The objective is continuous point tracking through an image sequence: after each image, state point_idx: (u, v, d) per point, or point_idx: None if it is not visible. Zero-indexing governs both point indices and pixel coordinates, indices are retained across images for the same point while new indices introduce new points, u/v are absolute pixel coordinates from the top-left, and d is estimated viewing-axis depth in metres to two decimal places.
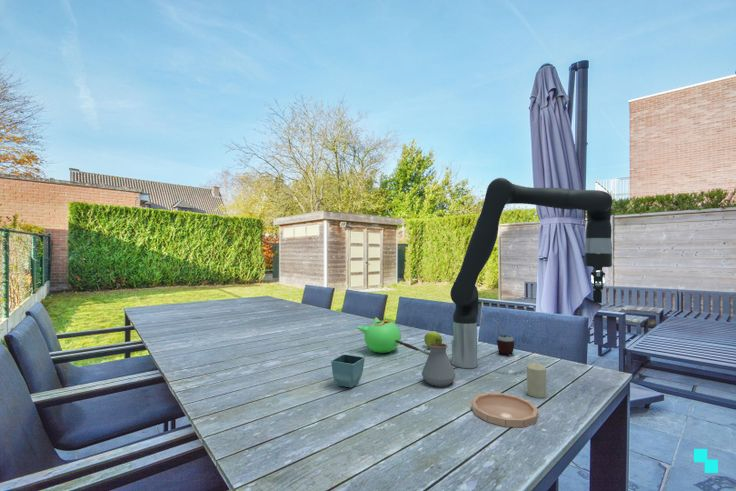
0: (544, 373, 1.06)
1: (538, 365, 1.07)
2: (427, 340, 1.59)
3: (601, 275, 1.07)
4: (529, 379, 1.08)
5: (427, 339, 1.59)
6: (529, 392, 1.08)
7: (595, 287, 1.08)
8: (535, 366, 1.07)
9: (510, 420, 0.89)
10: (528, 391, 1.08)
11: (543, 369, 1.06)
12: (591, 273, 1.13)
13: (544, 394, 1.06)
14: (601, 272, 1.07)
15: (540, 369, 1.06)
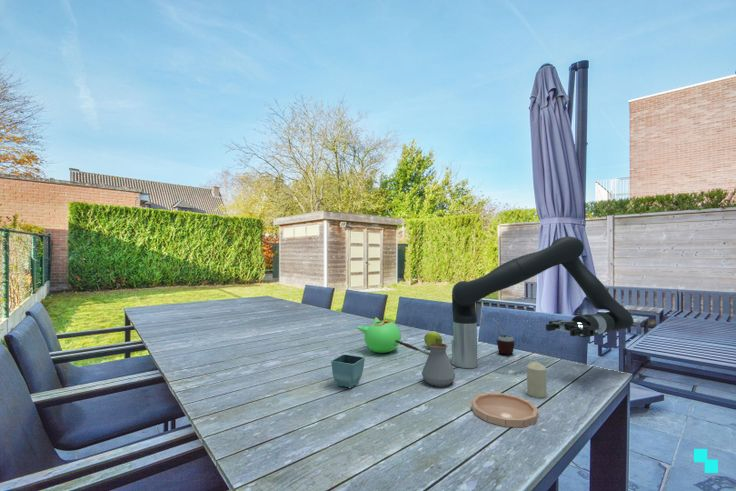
0: (544, 373, 1.06)
1: (538, 365, 1.07)
2: (427, 340, 1.59)
3: (596, 333, 1.12)
4: (529, 379, 1.08)
5: (427, 339, 1.59)
6: (529, 392, 1.08)
7: (589, 330, 1.10)
8: (535, 366, 1.07)
9: (510, 420, 0.89)
10: (528, 391, 1.08)
11: (543, 369, 1.06)
12: (581, 323, 1.16)
13: (544, 394, 1.06)
14: (597, 333, 1.12)
15: (540, 369, 1.06)
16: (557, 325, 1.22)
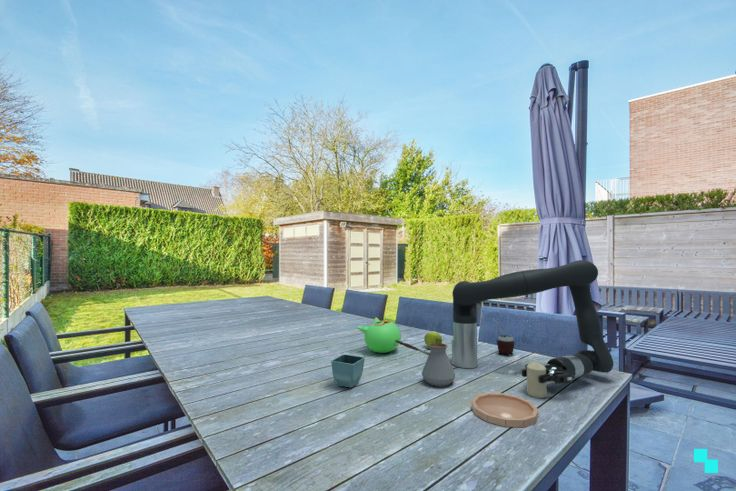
0: (544, 373, 1.06)
1: (538, 365, 1.07)
2: (427, 340, 1.59)
3: (568, 381, 1.06)
4: (529, 379, 1.08)
5: (427, 339, 1.59)
6: (529, 392, 1.08)
7: (558, 377, 1.05)
8: (535, 366, 1.07)
9: (510, 420, 0.89)
10: (528, 391, 1.08)
11: (543, 369, 1.06)
12: (556, 367, 1.10)
13: (544, 394, 1.06)
14: (571, 381, 1.06)
15: (540, 369, 1.06)
16: None
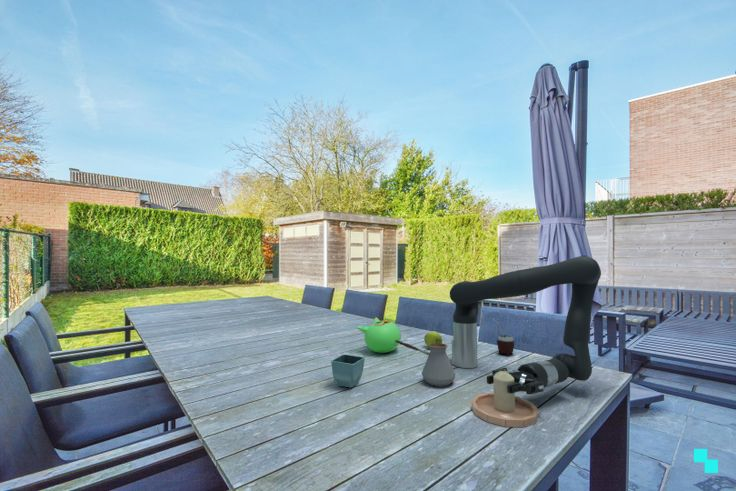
0: None
1: (505, 375, 0.96)
2: (427, 340, 1.59)
3: (540, 390, 0.94)
4: (495, 391, 0.96)
5: (427, 339, 1.59)
6: (495, 405, 0.96)
7: (529, 387, 0.93)
8: (502, 376, 0.96)
9: (510, 420, 0.89)
10: (494, 404, 0.97)
11: (511, 380, 0.95)
12: (526, 375, 0.99)
13: (512, 408, 0.95)
14: (542, 389, 0.94)
15: (507, 380, 0.95)
16: None
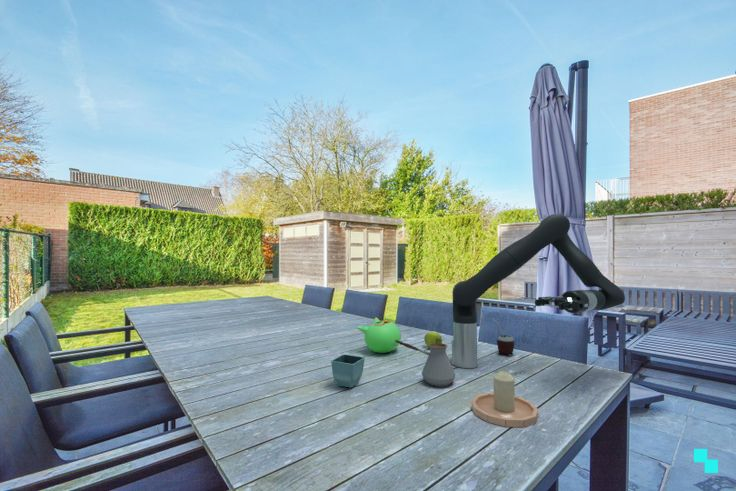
0: (512, 384, 0.95)
1: (505, 375, 0.96)
2: (427, 340, 1.59)
3: (586, 308, 1.09)
4: (495, 391, 0.96)
5: (427, 339, 1.59)
6: (495, 406, 0.96)
7: (578, 304, 1.07)
8: (502, 376, 0.96)
9: (510, 420, 0.89)
10: (494, 404, 0.97)
11: (511, 380, 0.95)
12: (570, 298, 1.14)
13: (512, 408, 0.95)
14: (587, 307, 1.09)
15: (507, 380, 0.95)
16: (547, 301, 1.20)
